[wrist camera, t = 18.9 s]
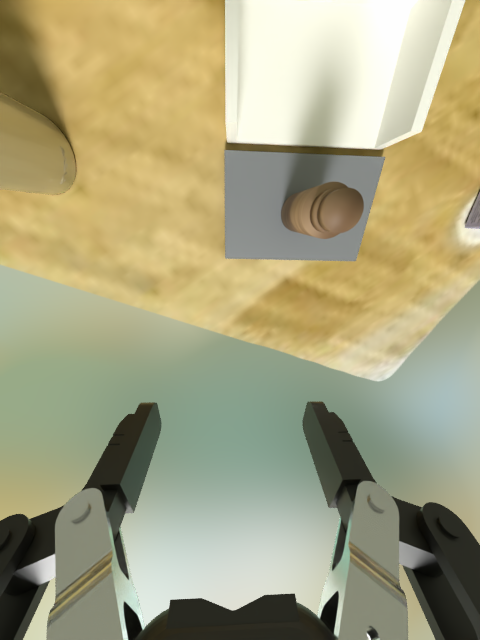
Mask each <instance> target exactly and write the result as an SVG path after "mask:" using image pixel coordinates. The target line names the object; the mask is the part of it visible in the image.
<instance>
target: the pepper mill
mask: <svg viewBox="0 0 480 640" xmlns="http://www.w3.org/2000/svg"><path fill="white" fill-rule="evenodd" d="M363 209H364V201H363V198H362V195H361V194H360V193H359V192H358V191H357V190H356V189H354V188H349V187H347V186H346V185H345V184H343V183H341V182H328V183H325V184H322V185H319V186H316V187H313V188H310V189H307V190H304V191H301V192H298V193H295V194H293V195H291V196H290V197H289V198H287V200H286V201H285V202H284V204H283V206H282V209H281V220H282V223H283V225H284V226H285V227H286V228H287V229H288V230H290V231H293V232H297V233H301V234H305V235H308V236H312V237H316V238H320V239H329V238H332V237H335V236H337V235H338V234H340V233H344V232H347V231H349V230H350V229H352V228H353V227H354V226H355V225H356V224H357V223H358V221H359V220H360V218H361V216H362V213H363Z"/></svg>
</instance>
